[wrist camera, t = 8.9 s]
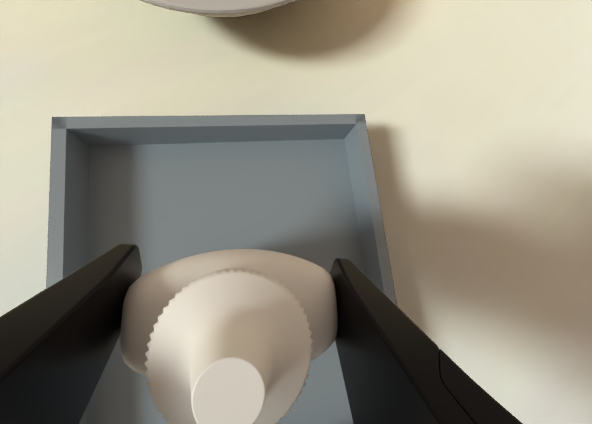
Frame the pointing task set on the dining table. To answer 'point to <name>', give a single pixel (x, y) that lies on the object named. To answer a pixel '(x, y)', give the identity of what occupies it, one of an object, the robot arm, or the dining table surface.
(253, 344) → the eye dropper bottle
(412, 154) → the dining table surface
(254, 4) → the dish
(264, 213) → the slate tray
